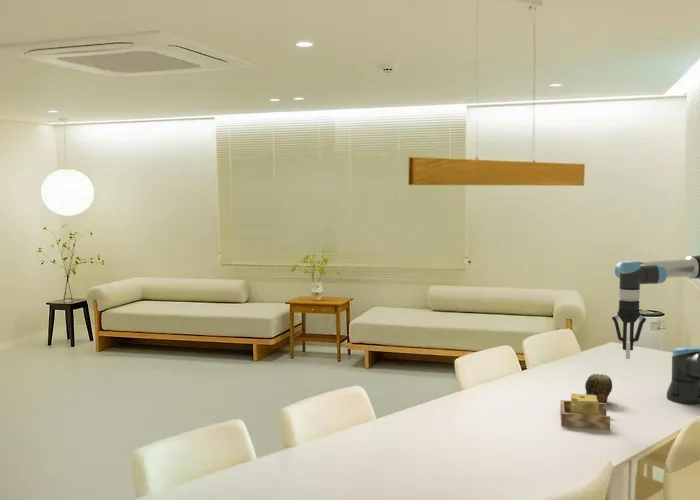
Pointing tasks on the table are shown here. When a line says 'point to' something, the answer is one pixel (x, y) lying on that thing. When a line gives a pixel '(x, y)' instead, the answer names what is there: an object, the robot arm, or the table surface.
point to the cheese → (584, 404)
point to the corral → (584, 417)
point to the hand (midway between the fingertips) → (627, 358)
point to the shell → (599, 387)
